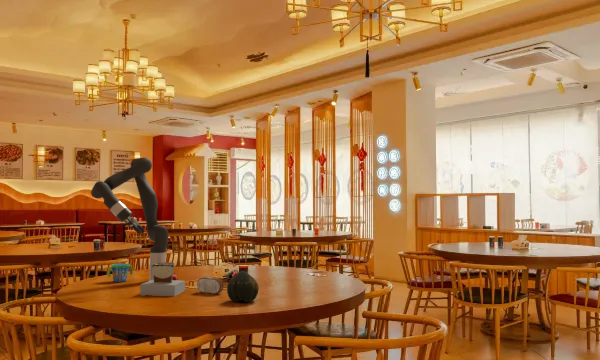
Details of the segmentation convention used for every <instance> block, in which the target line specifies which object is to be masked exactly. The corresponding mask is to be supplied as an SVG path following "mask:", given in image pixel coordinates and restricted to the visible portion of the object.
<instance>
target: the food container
mask: <svg viewBox="0 0 600 360" xmlns="http://www.w3.org/2000/svg"><path fill="white" fill-rule="evenodd" d="M175 265H176V264H175V262H169V261H168V262H167V261H166V262H159V263H152V266H151V267H153V279H154V283H172V279H173V272H174V268H176V266H175Z"/></svg>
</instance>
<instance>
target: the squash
mask: <svg viewBox="0 0 600 360" xmlns="http://www.w3.org/2000/svg"><path fill="white" fill-rule="evenodd" d="M259 288H260V287H259V284H258V281H257V280H256V279H255V278H254V277H253V276H252V275H250V273H248V272H247V271H244V270H240V271H239V272H237V274H235V275H233V277H232V278H231V279H230V280H229V282H228V284H227V287H226V293H227V296H228V298H229V299H230V300H231V301H232V302H236V303H237V302H239V301H243V302H244V303H246V302H247V303H250V302H252V301H254V300H255V299H256V298H257V296H258V294H259V290H260V289H259Z"/></svg>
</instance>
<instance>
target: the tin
mask: <svg viewBox="0 0 600 360" xmlns="http://www.w3.org/2000/svg"><path fill="white" fill-rule="evenodd" d="M196 285H197V286H196V287H197V289H198V291H199V292H200V293H202V294H209V293H211V295H218V294H221V293H222V292H223V290H224V282H223V281H222V279H221V278H220V277H214V276H213V277H212V276H203V277H200V278H199V279H198V280H197V283H196Z"/></svg>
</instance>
